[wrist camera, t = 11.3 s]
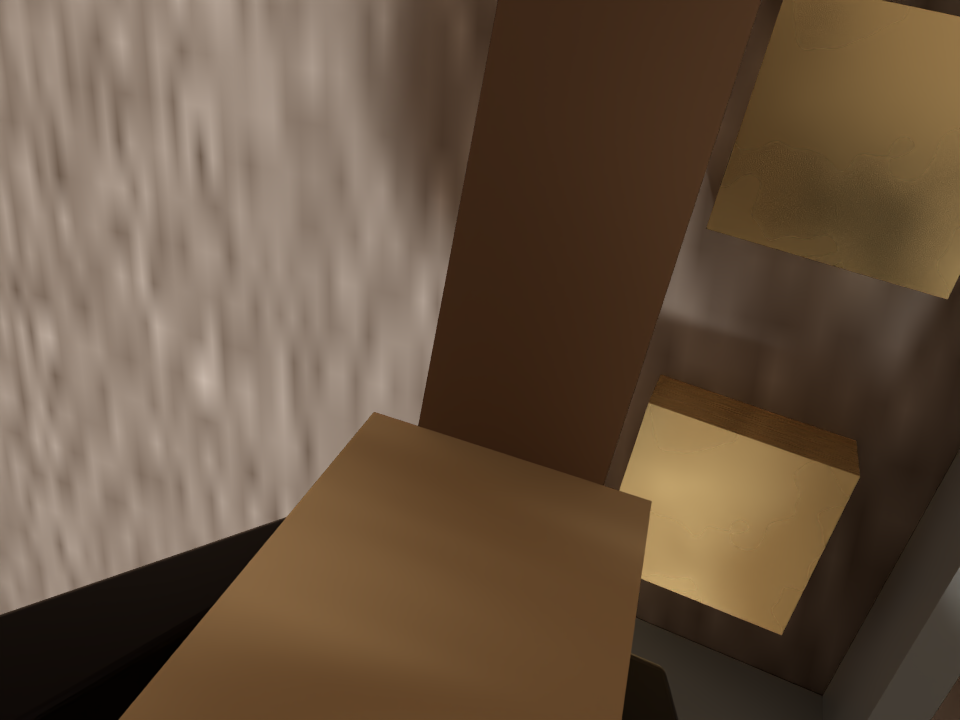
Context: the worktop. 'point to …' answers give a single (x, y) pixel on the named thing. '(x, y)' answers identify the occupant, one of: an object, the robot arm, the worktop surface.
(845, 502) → the tan square block
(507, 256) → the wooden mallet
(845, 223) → the chip
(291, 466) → the worktop surface
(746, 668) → the tray
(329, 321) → the worktop surface
